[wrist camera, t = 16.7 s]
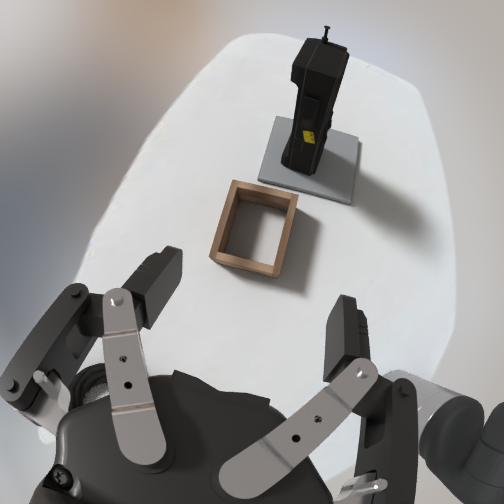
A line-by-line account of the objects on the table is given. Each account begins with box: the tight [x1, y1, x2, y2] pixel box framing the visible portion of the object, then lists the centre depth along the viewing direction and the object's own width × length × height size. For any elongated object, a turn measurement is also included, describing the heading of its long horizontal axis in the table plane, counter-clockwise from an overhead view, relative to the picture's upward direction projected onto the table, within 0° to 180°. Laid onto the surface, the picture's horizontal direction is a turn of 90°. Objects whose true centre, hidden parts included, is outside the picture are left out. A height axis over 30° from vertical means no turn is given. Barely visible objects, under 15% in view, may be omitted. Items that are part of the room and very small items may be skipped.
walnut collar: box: [209, 180, 299, 278], centre depth 41 cm, size 10×12×5 cm
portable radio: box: [281, 26, 349, 176], centre depth 32 cm, size 8×6×25 cm
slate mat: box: [258, 116, 359, 204], centre depth 45 cm, size 16×14×1 cm
